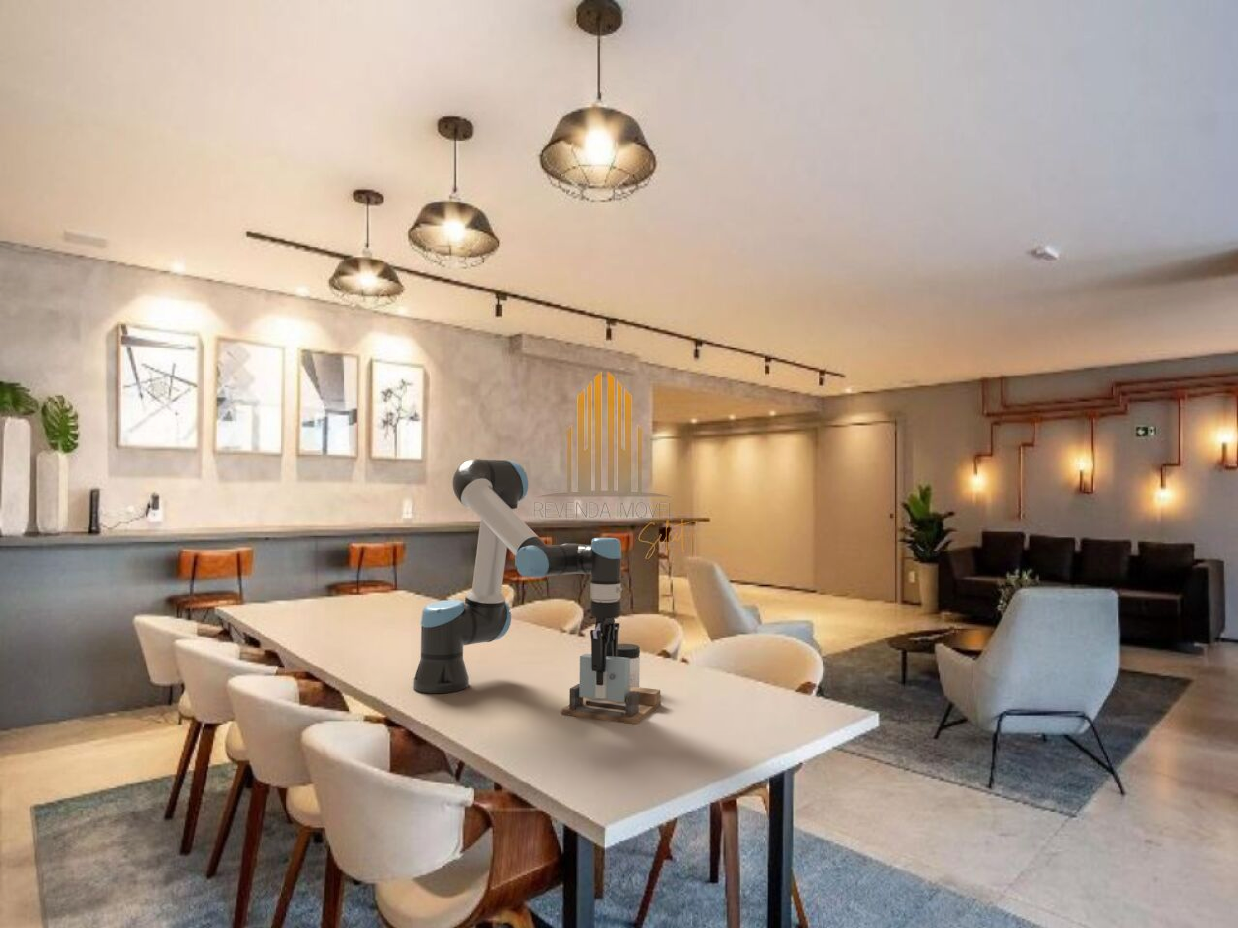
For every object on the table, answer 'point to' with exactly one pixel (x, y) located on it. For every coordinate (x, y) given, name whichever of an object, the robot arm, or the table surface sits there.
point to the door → (615, 678)
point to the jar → (631, 661)
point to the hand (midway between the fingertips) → (604, 695)
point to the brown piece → (614, 706)
